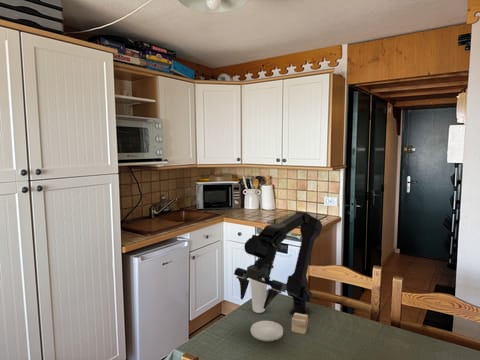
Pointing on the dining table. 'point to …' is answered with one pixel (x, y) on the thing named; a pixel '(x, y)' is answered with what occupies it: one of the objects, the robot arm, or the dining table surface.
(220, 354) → the dining table surface
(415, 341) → the dining table surface
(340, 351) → the dining table surface
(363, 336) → the dining table surface
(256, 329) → the plate
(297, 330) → the oak block
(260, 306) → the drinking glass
